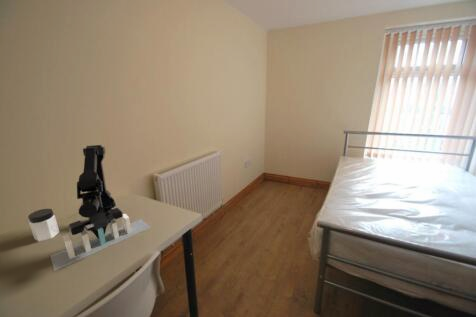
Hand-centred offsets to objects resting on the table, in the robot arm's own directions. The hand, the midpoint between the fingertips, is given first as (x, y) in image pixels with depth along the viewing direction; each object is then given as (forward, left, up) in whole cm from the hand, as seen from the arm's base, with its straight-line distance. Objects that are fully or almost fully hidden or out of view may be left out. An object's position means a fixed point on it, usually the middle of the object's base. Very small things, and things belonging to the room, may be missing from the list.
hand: (100, 237), depth 92 cm
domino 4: (0, +6, -3) cm, 6 cm away
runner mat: (0, +2, -3) cm, 3 cm away
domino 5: (0, +11, -3) cm, 11 cm away
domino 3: (0, 0, -3) cm, 3 cm away
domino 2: (0, -5, -3) cm, 6 cm away
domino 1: (0, -11, -3) cm, 11 cm away
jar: (-24, -16, -3) cm, 29 cm away
